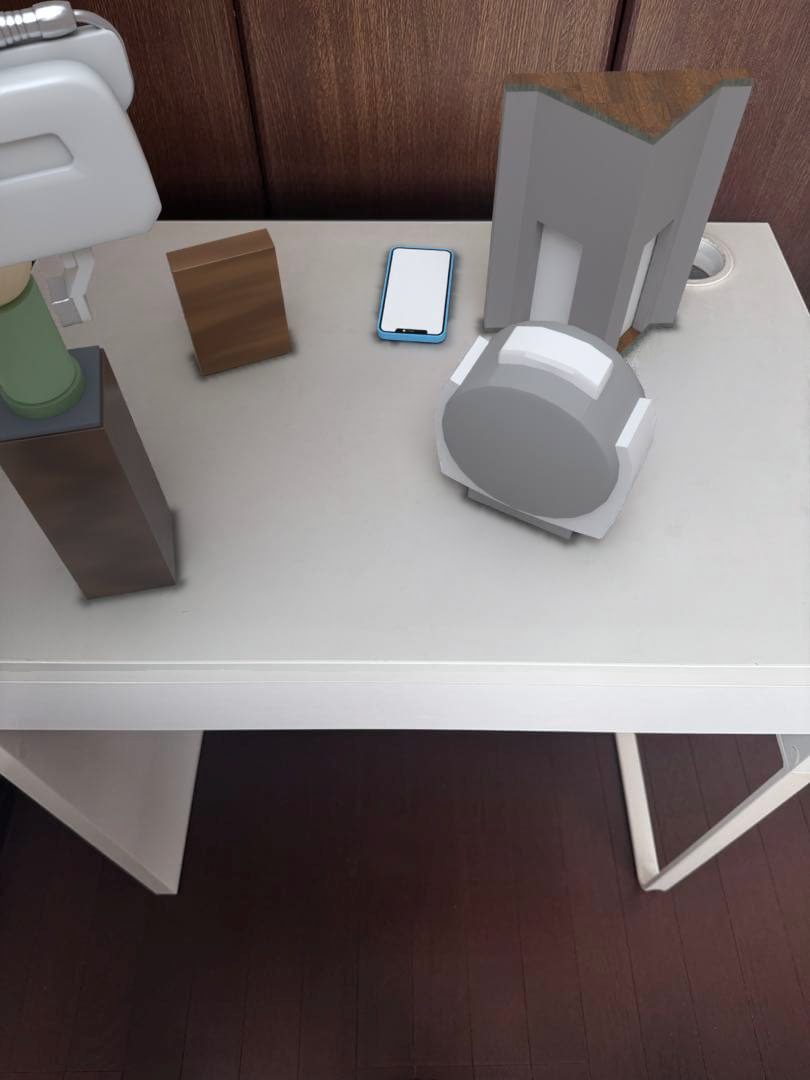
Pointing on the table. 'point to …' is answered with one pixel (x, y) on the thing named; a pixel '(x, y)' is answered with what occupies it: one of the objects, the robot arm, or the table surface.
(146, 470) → the pedestal
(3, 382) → the toy
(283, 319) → the wooden block
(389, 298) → the smartphone
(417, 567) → the table surface
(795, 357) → the table surface
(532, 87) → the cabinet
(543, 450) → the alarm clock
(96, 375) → the mat
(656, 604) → the table surface
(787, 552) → the table surface
